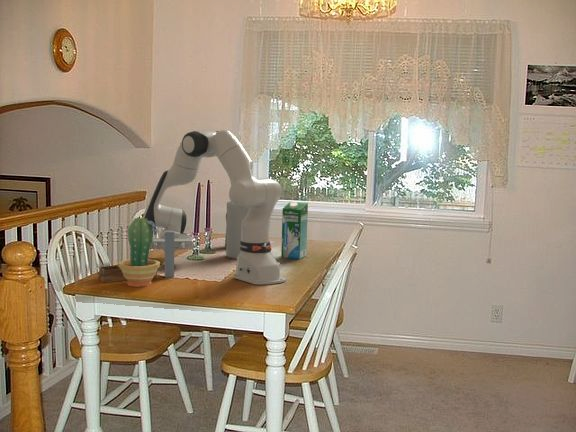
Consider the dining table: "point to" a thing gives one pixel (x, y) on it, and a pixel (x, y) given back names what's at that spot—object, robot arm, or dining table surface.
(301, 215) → the milk carton
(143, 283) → the potted cactus
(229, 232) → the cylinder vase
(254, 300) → the dining table surface
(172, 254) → the blue-grey rectangular bar
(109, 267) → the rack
